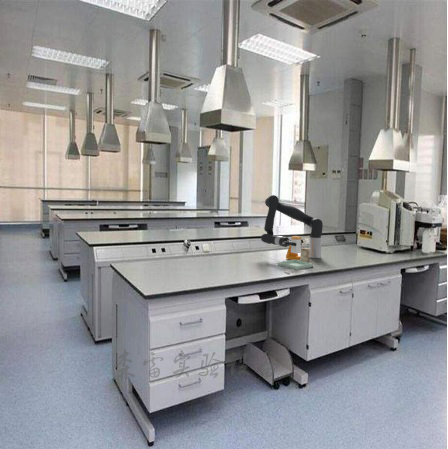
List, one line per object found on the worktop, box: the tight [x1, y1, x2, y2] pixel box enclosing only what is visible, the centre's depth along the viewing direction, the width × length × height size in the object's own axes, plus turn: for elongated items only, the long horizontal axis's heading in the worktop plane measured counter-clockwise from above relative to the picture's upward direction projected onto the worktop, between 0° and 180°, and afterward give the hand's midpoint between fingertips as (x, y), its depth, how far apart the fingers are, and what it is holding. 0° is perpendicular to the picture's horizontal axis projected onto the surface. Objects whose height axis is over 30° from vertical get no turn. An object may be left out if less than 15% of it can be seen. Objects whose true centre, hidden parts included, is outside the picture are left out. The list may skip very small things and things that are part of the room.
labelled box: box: [290, 235, 302, 254], centre depth 272 cm, size 5×5×12 cm
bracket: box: [285, 246, 301, 261], centre depth 301 cm, size 11×7×12 cm, turn 117°
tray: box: [277, 259, 314, 271], centre depth 273 cm, size 18×18×3 cm
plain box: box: [299, 247, 311, 263], centre depth 284 cm, size 5×5×12 cm
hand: (298, 244), depth 270 cm, fingers closed on labelled box, 5 cm apart
